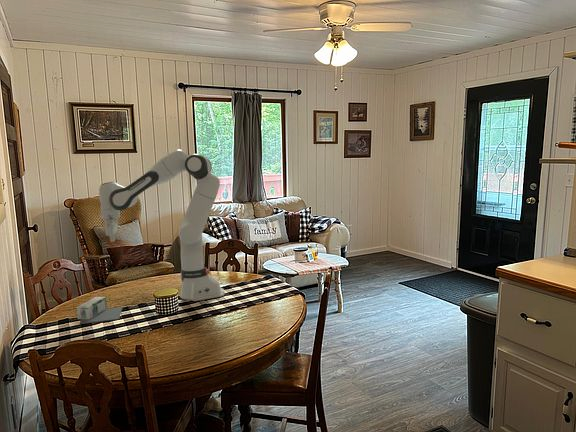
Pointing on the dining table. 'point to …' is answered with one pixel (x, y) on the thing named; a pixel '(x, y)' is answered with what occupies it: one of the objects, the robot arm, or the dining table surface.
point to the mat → (104, 316)
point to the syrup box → (91, 308)
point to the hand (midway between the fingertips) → (112, 241)
